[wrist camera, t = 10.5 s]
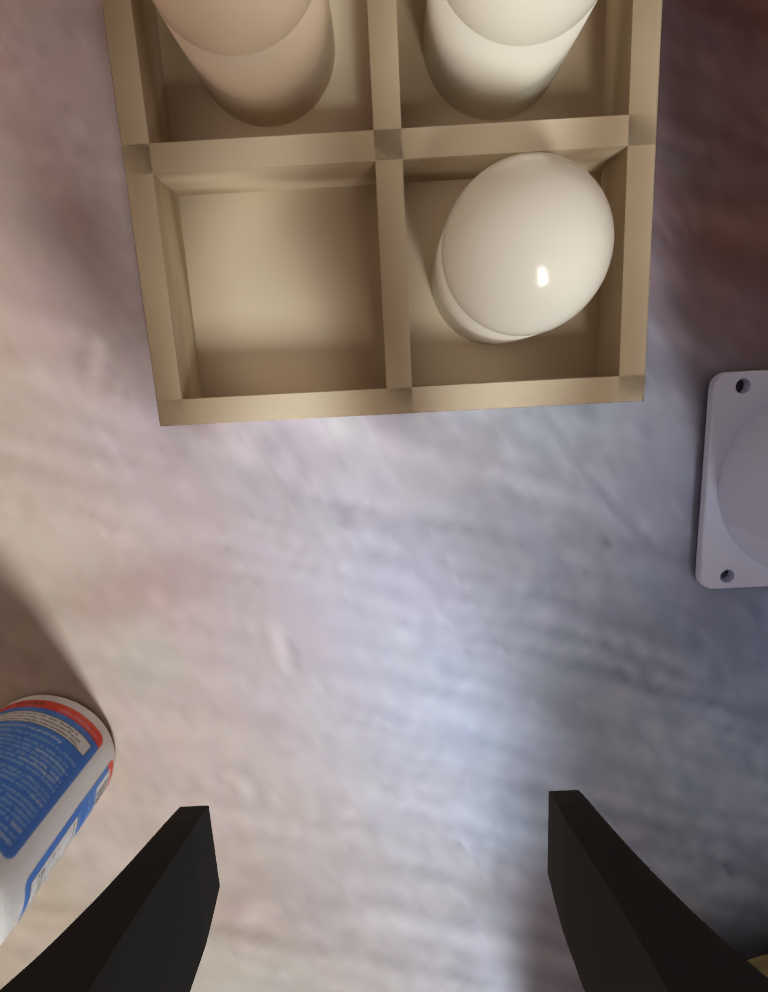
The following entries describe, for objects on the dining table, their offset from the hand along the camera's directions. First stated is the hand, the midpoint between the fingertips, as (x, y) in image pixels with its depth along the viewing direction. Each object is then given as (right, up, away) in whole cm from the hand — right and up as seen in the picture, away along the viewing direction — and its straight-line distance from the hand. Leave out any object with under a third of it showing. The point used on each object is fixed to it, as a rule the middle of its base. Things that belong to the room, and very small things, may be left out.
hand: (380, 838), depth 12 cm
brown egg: (-4, +21, +6) cm, 22 cm away
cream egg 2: (+4, +15, +7) cm, 17 cm away
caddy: (0, +18, +7) cm, 19 cm away
